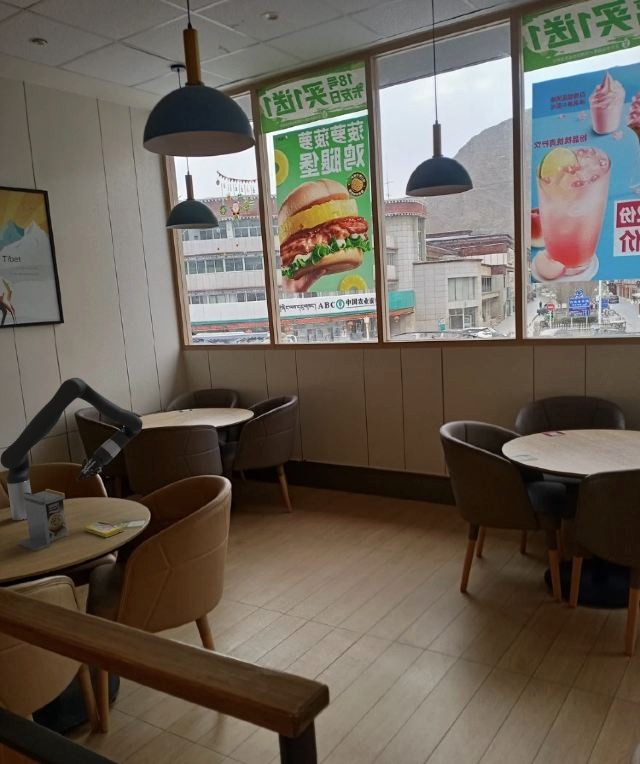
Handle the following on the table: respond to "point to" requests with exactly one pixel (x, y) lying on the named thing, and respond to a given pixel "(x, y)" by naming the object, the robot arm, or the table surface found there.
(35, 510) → the grey metal stand
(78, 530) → the table surface
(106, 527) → the candy box
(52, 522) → the coffee box
